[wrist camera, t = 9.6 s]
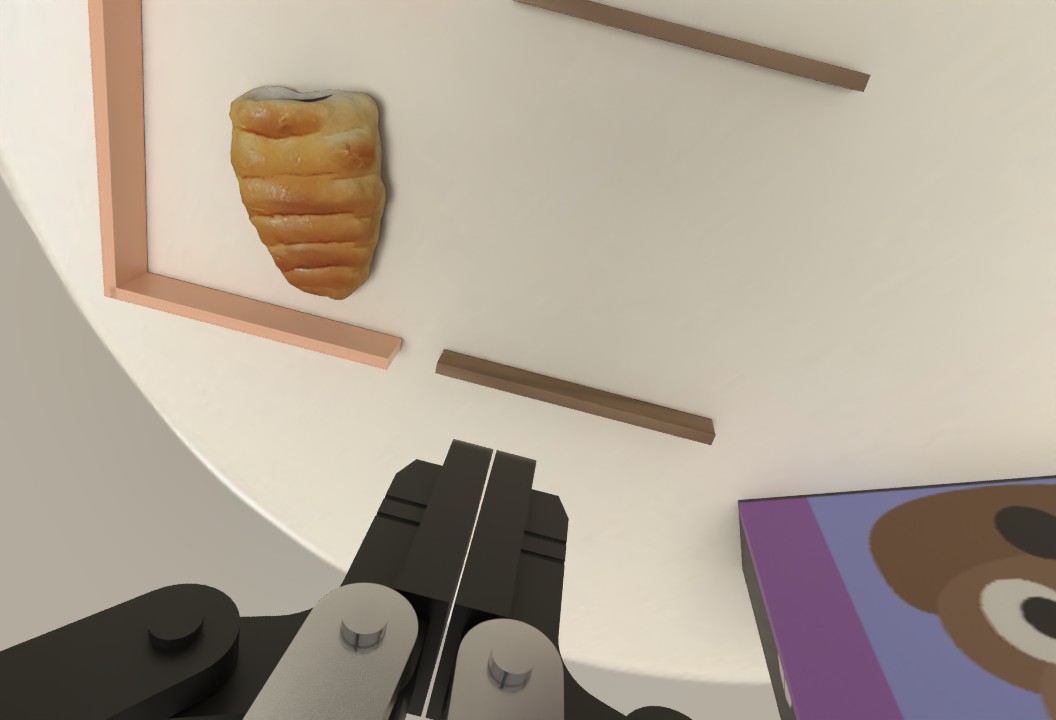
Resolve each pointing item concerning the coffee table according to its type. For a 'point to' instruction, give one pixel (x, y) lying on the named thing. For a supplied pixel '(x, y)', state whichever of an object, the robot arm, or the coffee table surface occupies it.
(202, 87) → the coffee table surface
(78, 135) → the coffee table surface
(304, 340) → the terracotta pen
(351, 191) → the pastry
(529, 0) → the walnut chute
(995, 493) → the cereal box
